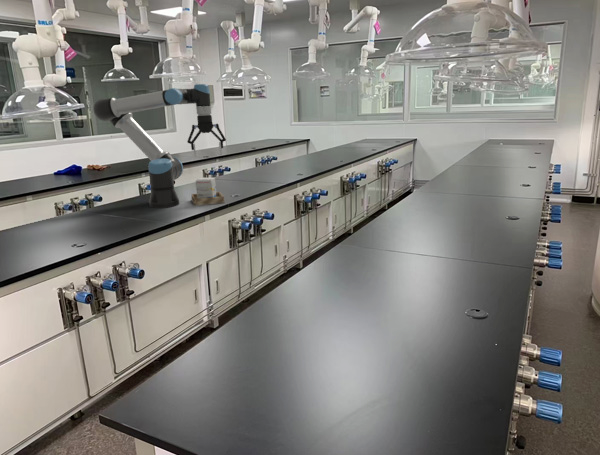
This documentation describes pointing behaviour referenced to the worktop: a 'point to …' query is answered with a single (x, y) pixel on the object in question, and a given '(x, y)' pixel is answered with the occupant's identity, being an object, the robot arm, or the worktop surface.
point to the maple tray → (208, 199)
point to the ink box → (206, 187)
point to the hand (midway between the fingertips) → (208, 155)
